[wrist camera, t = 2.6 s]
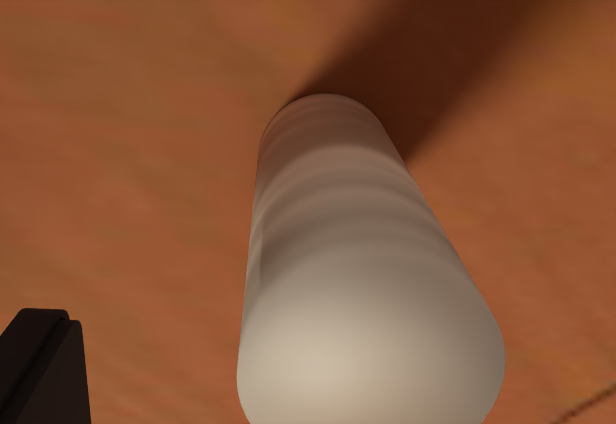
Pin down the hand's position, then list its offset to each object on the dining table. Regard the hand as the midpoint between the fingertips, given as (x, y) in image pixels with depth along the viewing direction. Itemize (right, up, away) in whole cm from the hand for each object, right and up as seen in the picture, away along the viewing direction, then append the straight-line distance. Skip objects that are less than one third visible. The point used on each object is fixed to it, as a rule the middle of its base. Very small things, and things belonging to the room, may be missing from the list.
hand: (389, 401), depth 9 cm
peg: (-1, +5, +9) cm, 10 cm away
